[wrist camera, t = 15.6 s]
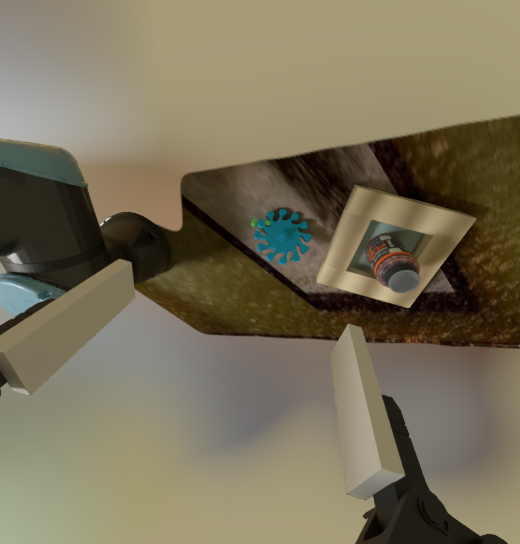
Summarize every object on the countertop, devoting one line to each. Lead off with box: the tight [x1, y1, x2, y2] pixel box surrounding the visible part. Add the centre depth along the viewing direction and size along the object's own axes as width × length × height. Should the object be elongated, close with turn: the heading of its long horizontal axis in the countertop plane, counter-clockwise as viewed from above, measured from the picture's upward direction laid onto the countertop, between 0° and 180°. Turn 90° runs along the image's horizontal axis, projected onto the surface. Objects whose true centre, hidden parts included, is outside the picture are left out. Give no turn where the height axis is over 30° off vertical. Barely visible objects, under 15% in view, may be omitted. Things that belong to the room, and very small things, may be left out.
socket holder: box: [317, 184, 477, 308], centre depth 40 cm, size 18×18×3 cm
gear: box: [251, 209, 311, 265], centre depth 41 cm, size 11×6×10 cm
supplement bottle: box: [365, 234, 420, 294], centre depth 36 cm, size 6×6×11 cm
